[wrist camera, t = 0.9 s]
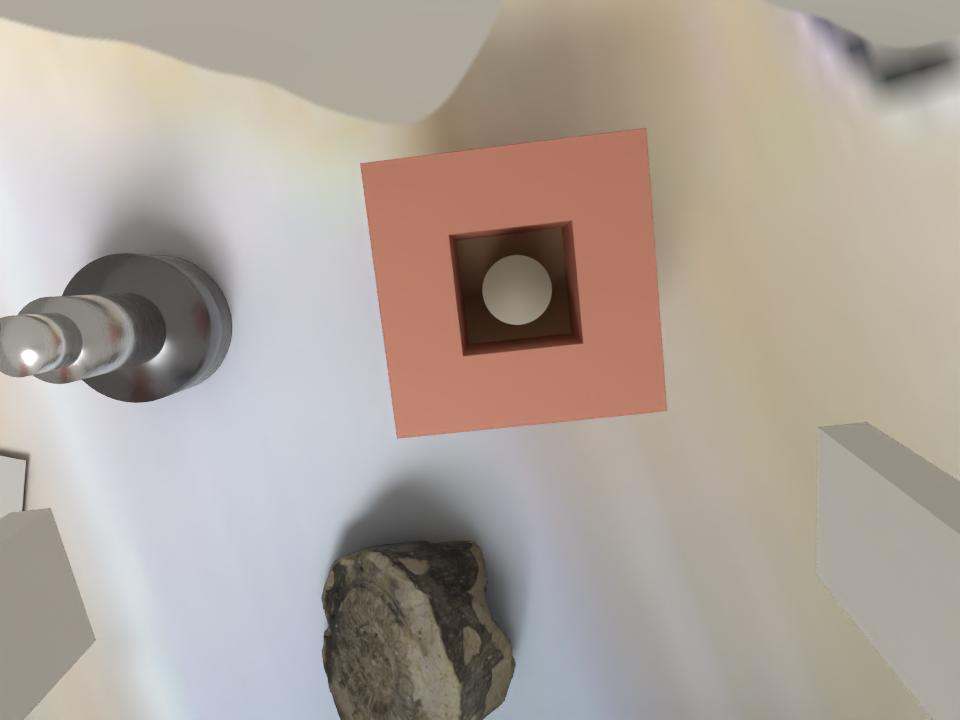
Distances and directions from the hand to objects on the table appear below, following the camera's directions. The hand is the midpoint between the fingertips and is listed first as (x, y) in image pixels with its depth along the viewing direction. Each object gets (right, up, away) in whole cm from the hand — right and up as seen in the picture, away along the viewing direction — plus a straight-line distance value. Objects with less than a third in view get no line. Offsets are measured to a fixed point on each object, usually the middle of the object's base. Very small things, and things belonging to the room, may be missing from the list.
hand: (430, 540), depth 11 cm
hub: (-15, +5, +22) cm, 27 cm away
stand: (+2, +7, +21) cm, 22 cm away
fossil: (-3, -11, +24) cm, 26 cm away
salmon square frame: (+2, +6, +16) cm, 17 cm away
